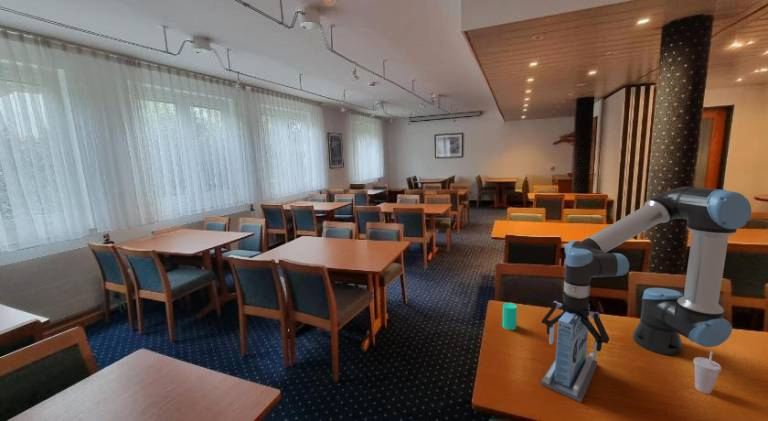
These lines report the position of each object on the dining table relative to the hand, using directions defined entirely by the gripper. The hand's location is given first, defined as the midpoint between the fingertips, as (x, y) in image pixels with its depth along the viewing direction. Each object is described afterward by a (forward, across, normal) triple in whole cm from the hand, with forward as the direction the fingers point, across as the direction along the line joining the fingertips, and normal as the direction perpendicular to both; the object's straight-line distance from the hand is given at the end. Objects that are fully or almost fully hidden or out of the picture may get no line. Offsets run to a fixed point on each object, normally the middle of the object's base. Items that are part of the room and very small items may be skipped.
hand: (572, 350), depth 111 cm
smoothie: (+10, +34, +20) cm, 41 cm away
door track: (+10, 0, 0) cm, 10 cm away
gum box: (+8, 0, 0) cm, 8 cm away
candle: (+10, -29, +17) cm, 35 cm away
